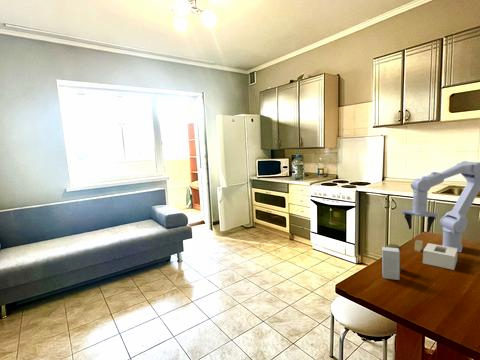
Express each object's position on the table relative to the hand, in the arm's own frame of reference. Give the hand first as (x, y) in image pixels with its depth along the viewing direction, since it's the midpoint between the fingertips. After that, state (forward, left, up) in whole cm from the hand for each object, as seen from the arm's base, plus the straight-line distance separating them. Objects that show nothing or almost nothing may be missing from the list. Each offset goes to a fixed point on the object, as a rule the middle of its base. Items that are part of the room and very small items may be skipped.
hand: (419, 230), depth 132 cm
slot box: (+10, +10, -10) cm, 17 cm away
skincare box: (+37, -3, -11) cm, 38 cm away
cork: (+29, -4, -11) cm, 31 cm away
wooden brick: (0, 0, -10) cm, 11 cm away
